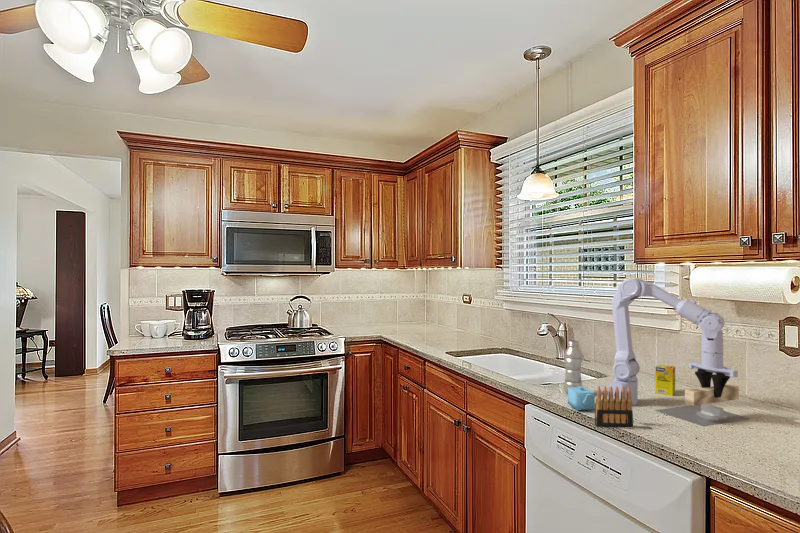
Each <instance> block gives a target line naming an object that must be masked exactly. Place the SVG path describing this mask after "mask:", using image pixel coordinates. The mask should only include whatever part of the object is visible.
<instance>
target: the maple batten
mask: <svg viewBox="0 0 800 533" xmlns="http://www.w3.org/2000/svg"><path fill="white" fill-rule="evenodd" d="M739 387H740V386H738V385H734V384H725V386H724V389H723V391H722V395H721V397H718V398H716V397H714V385H713V386H711V387H705V388H702V387H698V388H692V389H691V388H690V389H684V404H685V405H693V406H695V405H702V404H709V405H710V404H714V403H715V404H716V403H723V402H728V401H734V400H735V401H736V400H740V393H739V392H740V388H739Z"/></svg>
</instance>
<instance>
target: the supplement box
mask: <svg viewBox="0 0 800 533" xmlns="http://www.w3.org/2000/svg"><path fill="white" fill-rule="evenodd" d="M654 368H655V370H654V371H655V372H654V373H655V374H654V375H655V376H654V377H655V379H654V381H655V382H654V383H655V385H654V388H655V390H654V391H655V393H654V394H657V395H662V396H671V397H673V396H674V395H675V394H676V366H675V365H674V366H673V365H665V364H657V365H656V366H655V367H654Z"/></svg>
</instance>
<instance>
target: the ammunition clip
mask: <svg viewBox="0 0 800 533" xmlns="http://www.w3.org/2000/svg"><path fill="white" fill-rule="evenodd" d="M607 390H608V391H607ZM594 410H595V412H594V426H595V427H598V428H624V429H625V427H633V428H634V419H633V418H634V416H633V415H634V412H633V405H632V399H631V390H630V387H628V389H627V399H625V389H624V387H622V389H621V399H619V389H618V387H616V389H615V399H613V389H612V386H611V387H610V389H609V388H608V389H607V387H606V386H603V390H602V391H601V387H600V385H599V386H598V387H597V389H596V398H595V409H594Z"/></svg>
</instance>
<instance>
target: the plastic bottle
mask: <svg viewBox="0 0 800 533" xmlns="http://www.w3.org/2000/svg"><path fill="white" fill-rule="evenodd" d="M563 359H564V366H565V367H564V368H565V376H564V382H563V389H564V391H565V393H566V394H568V388H573V387H579V386H582V387H584V386H583V383H582V361H583V354H582V352H581V350H580V349H579V340H574V339H570V340H568V341H567V348H566V349H565V351H564V353H563Z"/></svg>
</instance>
